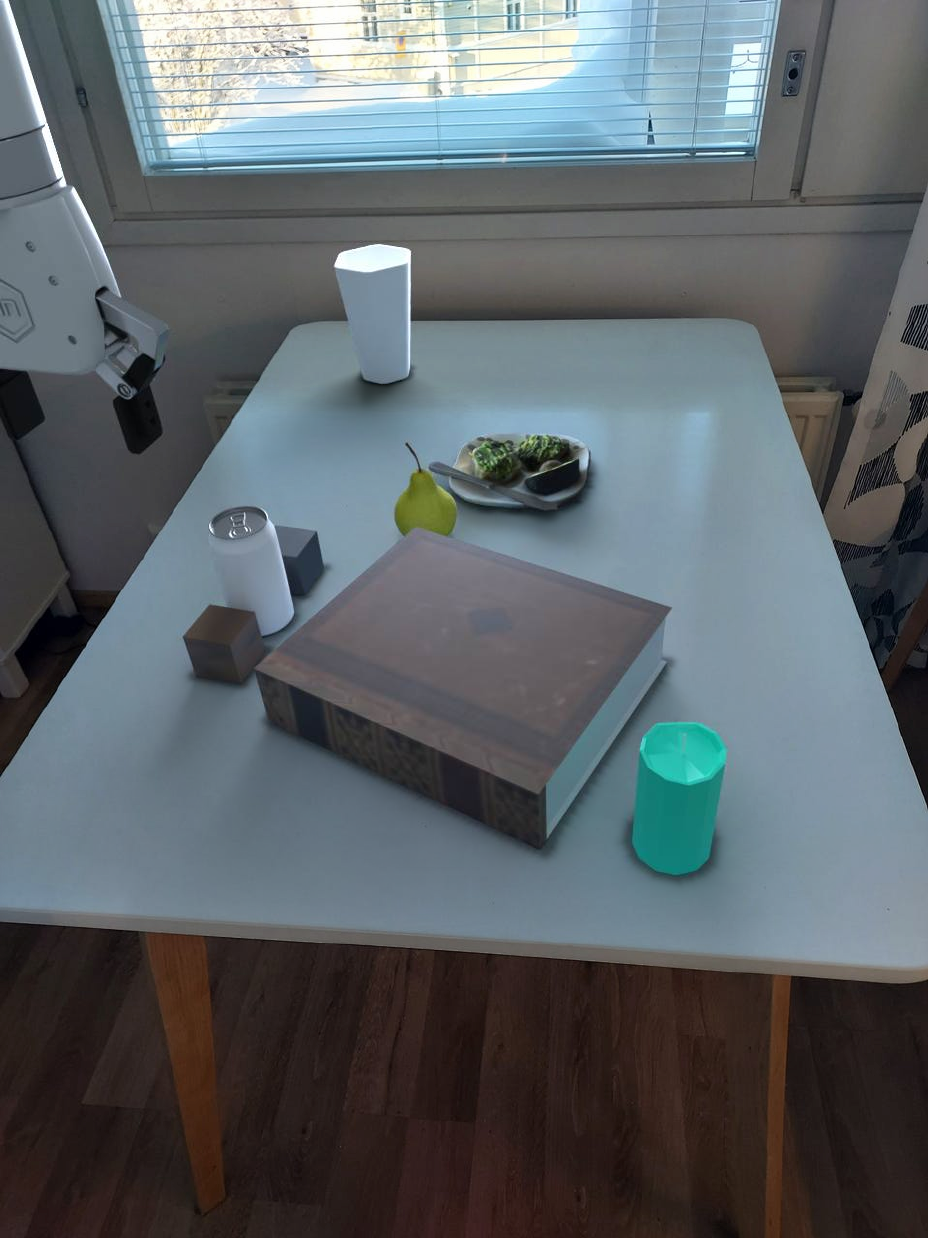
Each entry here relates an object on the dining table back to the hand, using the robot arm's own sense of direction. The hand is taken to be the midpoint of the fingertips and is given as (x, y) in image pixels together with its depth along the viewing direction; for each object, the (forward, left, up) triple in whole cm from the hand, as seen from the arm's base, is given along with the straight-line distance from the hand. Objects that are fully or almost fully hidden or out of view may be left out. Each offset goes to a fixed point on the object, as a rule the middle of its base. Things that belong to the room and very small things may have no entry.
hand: (86, 437), depth 64 cm
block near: (-2, +10, -30) cm, 32 cm away
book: (+22, +12, -31) cm, 39 cm away
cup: (-11, +74, -31) cm, 81 cm away
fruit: (+10, +34, -31) cm, 47 cm away
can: (-2, +17, -31) cm, 35 cm away
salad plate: (+17, +49, -31) cm, 60 cm away
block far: (-2, +24, -30) cm, 39 cm away
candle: (+42, 0, -31) cm, 52 cm away
